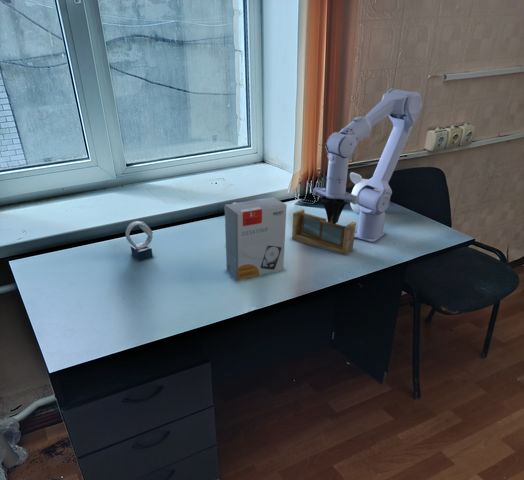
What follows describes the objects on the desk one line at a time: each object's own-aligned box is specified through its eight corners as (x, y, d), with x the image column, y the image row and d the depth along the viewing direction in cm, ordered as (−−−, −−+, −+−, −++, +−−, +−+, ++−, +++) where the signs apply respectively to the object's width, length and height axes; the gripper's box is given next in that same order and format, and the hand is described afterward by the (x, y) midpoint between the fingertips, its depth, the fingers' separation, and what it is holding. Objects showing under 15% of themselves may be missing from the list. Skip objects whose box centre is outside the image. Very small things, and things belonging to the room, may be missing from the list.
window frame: (300, 234, 163) (301, 208, 158) (352, 249, 154) (356, 222, 149) (291, 239, 160) (293, 213, 155) (345, 255, 151) (348, 227, 145)
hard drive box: (236, 282, 136) (234, 213, 124) (225, 271, 141) (222, 204, 130) (284, 270, 142) (287, 204, 130) (272, 260, 147) (273, 195, 135)
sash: (320, 239, 156) (322, 211, 151) (344, 246, 152) (347, 218, 147) (317, 241, 155) (319, 213, 150) (341, 248, 151) (344, 219, 146)
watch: (158, 255, 150) (154, 221, 143) (134, 262, 146) (128, 228, 139) (150, 249, 153) (145, 216, 147) (126, 256, 149) (120, 222, 143)
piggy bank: (375, 207, 184) (380, 167, 176) (382, 219, 175) (389, 177, 166) (343, 208, 184) (347, 167, 175) (349, 219, 174) (353, 177, 166)
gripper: (308, 176, 142) (306, 220, 150) (352, 185, 135) (347, 231, 143) (320, 170, 147) (317, 214, 155) (364, 179, 140) (358, 224, 148)
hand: (332, 222), depth 149 cm, fingers closed on sash
